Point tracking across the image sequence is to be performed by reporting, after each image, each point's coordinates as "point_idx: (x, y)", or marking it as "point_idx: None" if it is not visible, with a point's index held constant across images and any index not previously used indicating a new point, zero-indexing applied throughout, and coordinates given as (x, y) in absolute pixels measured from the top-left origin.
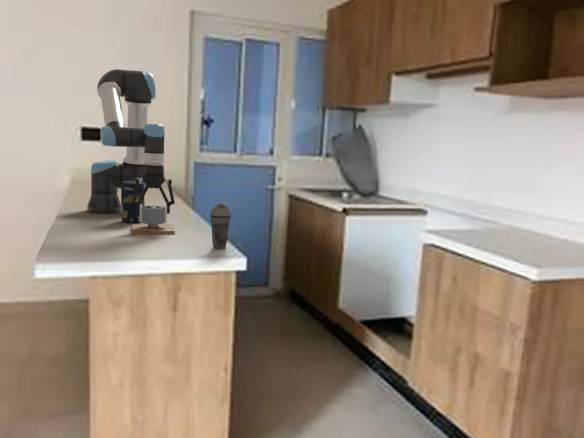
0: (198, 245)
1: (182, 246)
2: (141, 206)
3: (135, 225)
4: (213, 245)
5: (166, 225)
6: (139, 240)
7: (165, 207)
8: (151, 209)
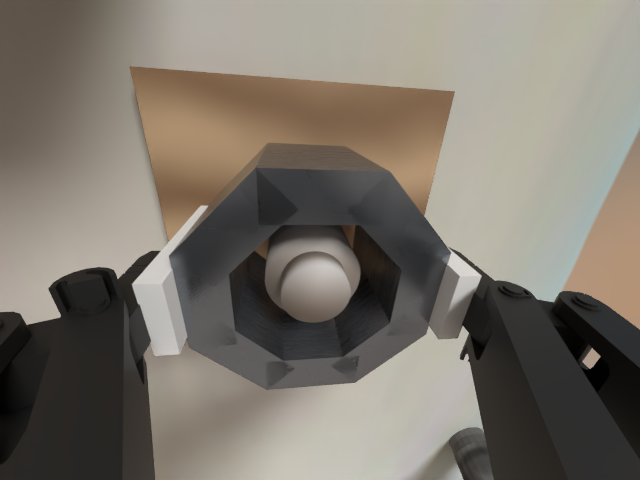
0: (423, 424)
1: (375, 436)
2: (178, 346)
3: (171, 132)
4: (453, 451)
5: (399, 134)
6: (241, 392)
7: (434, 328)
8: (291, 383)
